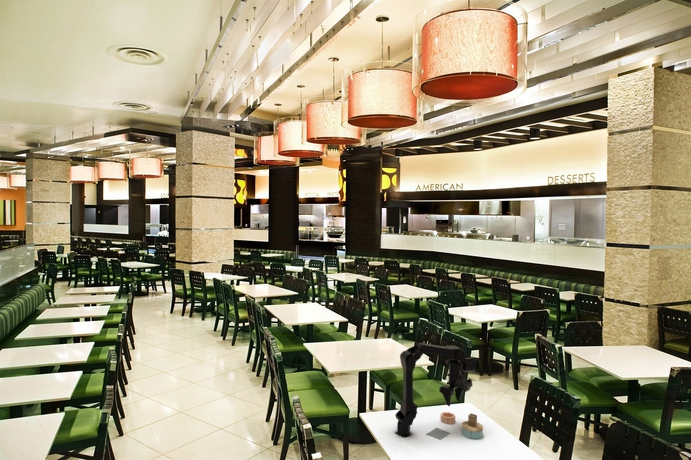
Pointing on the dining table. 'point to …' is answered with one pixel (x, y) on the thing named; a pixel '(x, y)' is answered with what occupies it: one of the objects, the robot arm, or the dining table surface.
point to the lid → (472, 424)
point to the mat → (438, 433)
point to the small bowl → (447, 418)
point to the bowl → (472, 434)
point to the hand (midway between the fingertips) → (453, 403)
